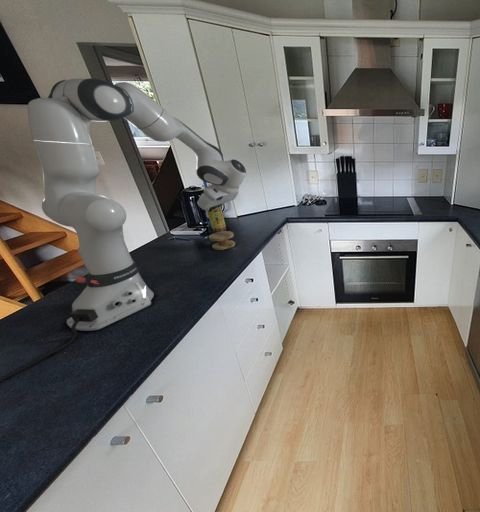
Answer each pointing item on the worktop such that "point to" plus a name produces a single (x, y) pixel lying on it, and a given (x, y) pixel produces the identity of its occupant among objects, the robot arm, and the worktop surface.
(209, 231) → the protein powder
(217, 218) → the sauce bottle
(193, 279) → the worktop surface
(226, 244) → the stand
